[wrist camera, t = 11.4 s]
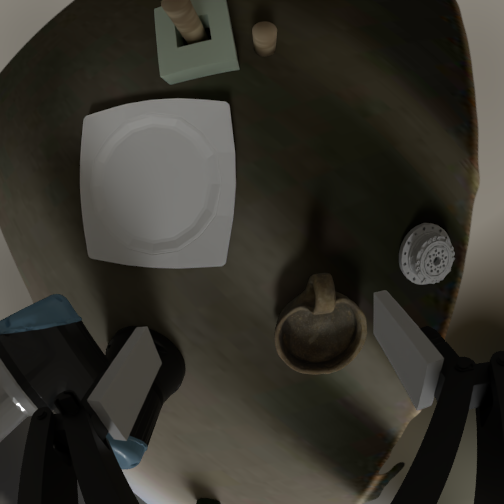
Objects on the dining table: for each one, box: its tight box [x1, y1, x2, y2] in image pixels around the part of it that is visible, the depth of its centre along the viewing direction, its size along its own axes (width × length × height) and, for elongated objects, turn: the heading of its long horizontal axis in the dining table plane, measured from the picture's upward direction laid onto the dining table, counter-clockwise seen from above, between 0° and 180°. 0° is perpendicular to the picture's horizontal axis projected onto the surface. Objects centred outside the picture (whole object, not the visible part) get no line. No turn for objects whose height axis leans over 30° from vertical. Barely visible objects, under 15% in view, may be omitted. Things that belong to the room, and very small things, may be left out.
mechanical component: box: [399, 223, 455, 285], centre depth 39 cm, size 10×4×10 cm
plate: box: [80, 98, 236, 268], centre depth 39 cm, size 24×24×3 cm
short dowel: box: [252, 21, 277, 57], centre depth 30 cm, size 3×3×6 cm
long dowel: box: [161, 0, 209, 45], centre depth 27 cm, size 3×3×13 cm
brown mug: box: [274, 272, 367, 374], centre depth 40 cm, size 14×18×10 cm
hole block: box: [154, 0, 240, 85], centre depth 31 cm, size 10×12×4 cm
